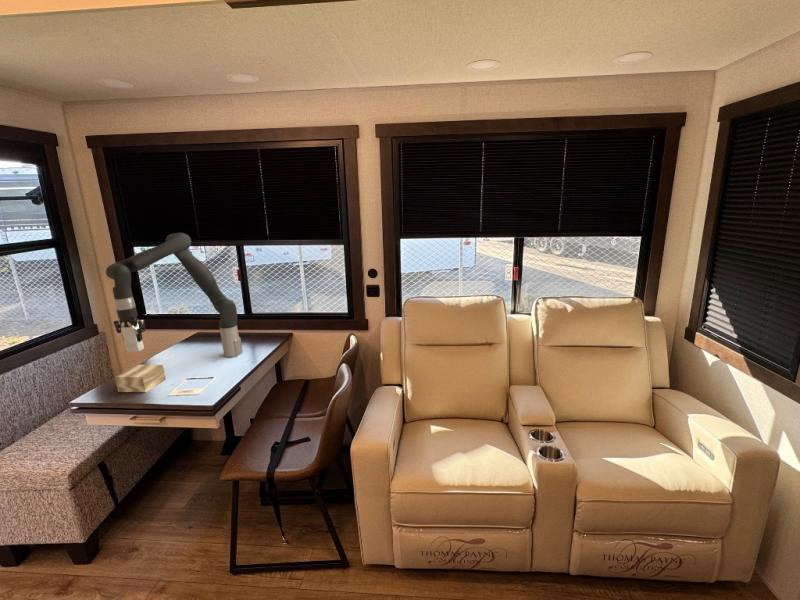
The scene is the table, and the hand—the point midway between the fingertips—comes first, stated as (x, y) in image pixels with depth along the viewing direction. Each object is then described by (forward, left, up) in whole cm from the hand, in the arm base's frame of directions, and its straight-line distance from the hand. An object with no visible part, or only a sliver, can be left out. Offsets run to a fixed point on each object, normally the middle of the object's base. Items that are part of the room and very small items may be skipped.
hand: (133, 341), depth 185 cm
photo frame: (-26, 0, -24) cm, 35 cm away
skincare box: (0, 0, -5) cm, 5 cm away
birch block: (0, 0, -23) cm, 23 cm away
